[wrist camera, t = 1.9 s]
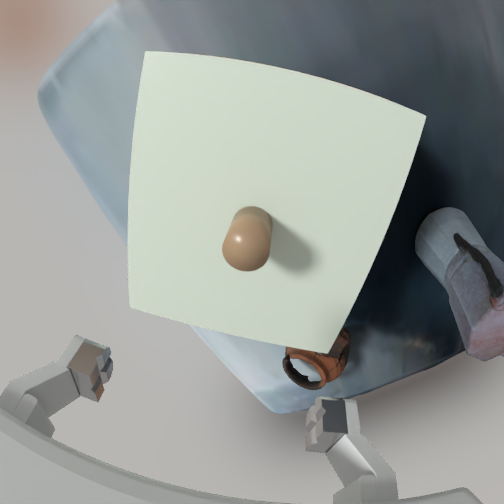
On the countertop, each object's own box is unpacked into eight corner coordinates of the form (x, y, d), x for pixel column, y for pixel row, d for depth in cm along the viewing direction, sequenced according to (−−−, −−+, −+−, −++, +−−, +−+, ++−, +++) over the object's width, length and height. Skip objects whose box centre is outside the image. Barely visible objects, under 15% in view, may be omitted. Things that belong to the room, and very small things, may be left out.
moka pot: (437, 290, 39) (490, 399, 22) (382, 217, 35) (448, 332, 18) (484, 251, 35) (558, 345, 18) (438, 169, 31) (543, 249, 14)
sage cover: (378, 105, 28) (452, 123, 14) (319, 281, 40) (330, 385, 26) (194, 62, 28) (117, 46, 14) (169, 246, 40) (112, 334, 25)
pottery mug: (338, 366, 49) (315, 402, 43) (294, 334, 51) (267, 366, 46) (376, 329, 41) (356, 370, 35) (324, 291, 43) (296, 326, 38)
